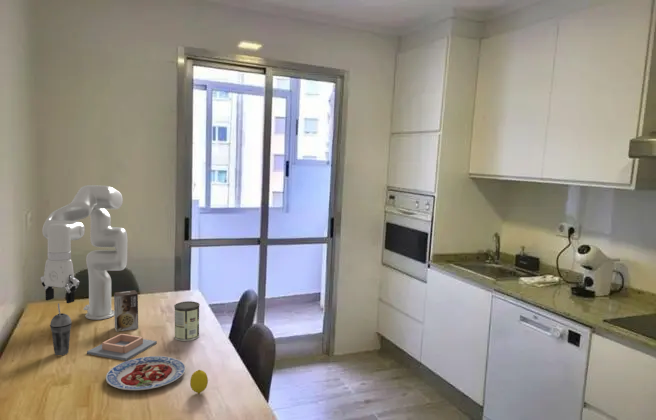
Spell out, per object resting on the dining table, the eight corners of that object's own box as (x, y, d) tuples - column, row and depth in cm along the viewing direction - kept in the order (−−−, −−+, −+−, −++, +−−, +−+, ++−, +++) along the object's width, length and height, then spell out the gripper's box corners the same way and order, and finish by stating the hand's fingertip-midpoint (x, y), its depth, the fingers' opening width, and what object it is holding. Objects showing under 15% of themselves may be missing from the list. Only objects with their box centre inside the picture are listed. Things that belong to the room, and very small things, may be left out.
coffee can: (184, 330, 206) (184, 299, 204) (203, 334, 202) (204, 303, 201) (168, 338, 196) (169, 306, 195) (189, 342, 193) (189, 309, 191)
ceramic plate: (127, 360, 175) (127, 352, 175) (195, 363, 174) (195, 355, 174) (90, 393, 149) (90, 384, 149) (169, 397, 148) (169, 388, 148)
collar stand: (86, 353, 178) (86, 345, 178) (119, 337, 195) (119, 329, 195) (126, 360, 173) (126, 351, 173) (156, 343, 191) (156, 335, 190)
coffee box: (135, 324, 212) (135, 289, 210) (138, 328, 206) (138, 293, 204) (114, 327, 207) (113, 292, 205) (116, 332, 201) (115, 295, 200)
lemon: (192, 389, 154) (192, 366, 153) (208, 389, 155) (209, 366, 154) (188, 397, 149) (188, 373, 148) (206, 397, 149) (206, 373, 148)
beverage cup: (76, 350, 181) (75, 300, 179) (64, 358, 174) (63, 306, 172) (59, 348, 182) (58, 299, 180) (46, 356, 175) (44, 304, 173)
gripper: (32, 255, 173) (33, 301, 174) (70, 259, 168) (70, 306, 169) (49, 252, 180) (50, 296, 181) (86, 256, 175) (86, 300, 176)
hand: (60, 300), depth 175 cm, fingers open, 9 cm apart
